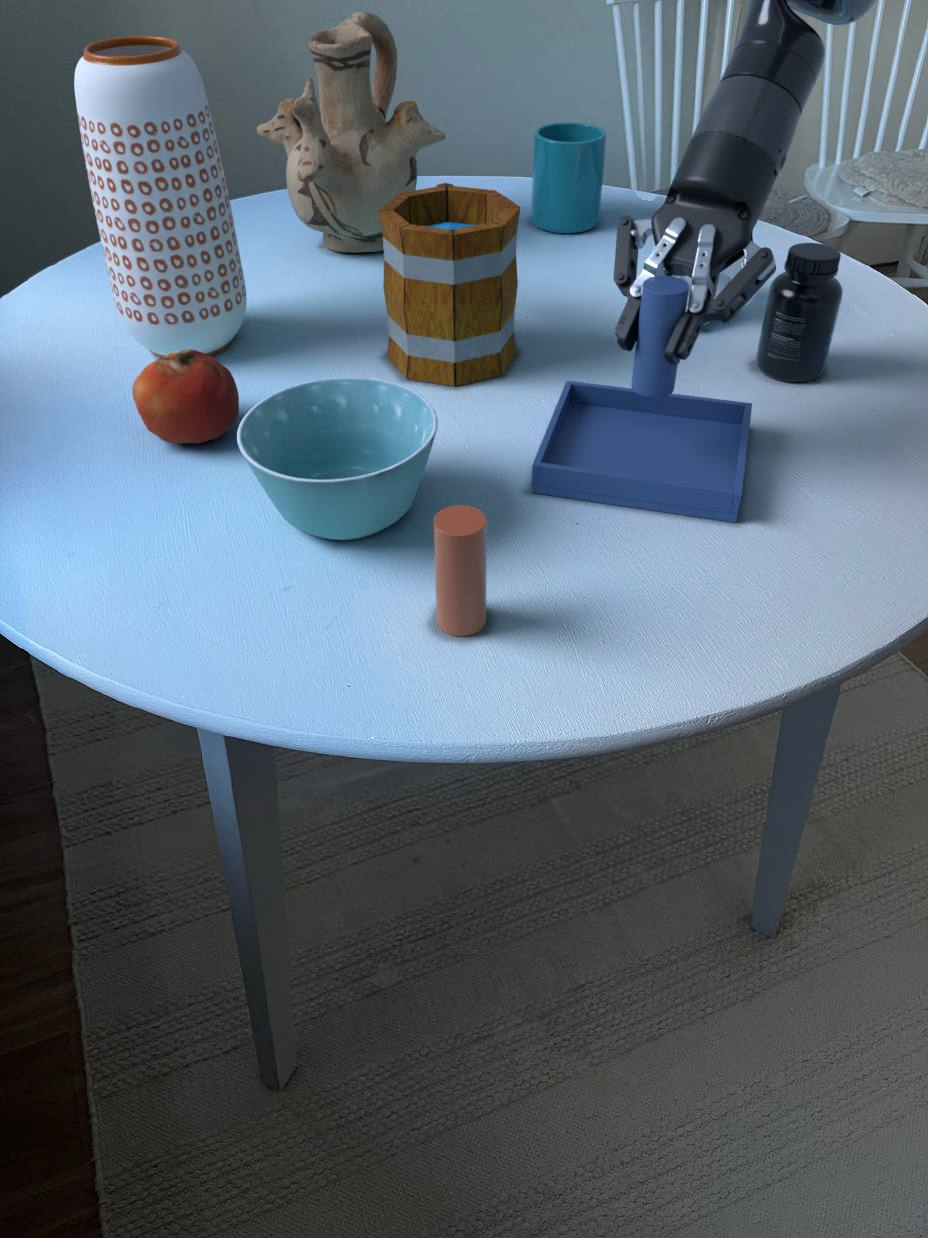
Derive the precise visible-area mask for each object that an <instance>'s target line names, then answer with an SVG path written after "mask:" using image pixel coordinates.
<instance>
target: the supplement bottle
mask: <svg viewBox="0 0 928 1238" xmlns="http://www.w3.org/2000/svg"><path fill="white" fill-rule="evenodd" d="M841 254H842V253H841V251H840V250H839V249H837V248H835V247H833V246H831V245H827V244H824V243H819V242H801V243H796V244H793V245H791V246H790V247H789V248H788V251H787V256H786V260H785V262H784V266H783V269H784V271H783V272H781V273H780V274H778V275H777V276H776V277H775V278H774V279H773V281H772V282H771V284H770V286H769V290H768V296H767V302H766V306H765V310H764V316H763V321H762V325H761V331H760V336H759V341H758V346H757V351H756V358H755V364H756V367H757V369H758V370H759V371H761V373H762V374H764V375H766V376H767V377H770V378H772V379H775V380H778V381H783V382H787V383H788V382H790V383H804V382H809V381H812V380H814V379H816V378H818V377H820V375H822V374H823V372H824V370H825V367H826V363H827V360H828V355H829V351H830V348H831V344H832V340H833V336H834V331H835V327H836V323H837V320H838V317H839V316H838V315H839V312H840V307H841V304H842V299H843V292H844V291H843V287H842V284H841V283H840V281H839V280H838V279H837V277H836V276H837V275H838V272H839V269H840V268H839V265H840V261H841V257H842V255H841Z"/></svg>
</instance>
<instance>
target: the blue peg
mask: <svg viewBox="0 0 928 1238" xmlns="http://www.w3.org/2000/svg"><path fill="white" fill-rule="evenodd" d="M688 291H689V285H688V283H687V282H686V281H684V280H682V279H680V278H677V277H672V276H654V277H650V278H648V279H646V280H645V281H644V282H643V287H642V296H641V305H640V313H639V322H638V331H637V340H636V343H635V351H634V357H633V368H632V376H631V384H630V387H631V389H633V391H634V392H635V393H637V394H639V395H641V396H644V397H650V398H661V397H665V396H668V395H670V394H671V393H672V394H673V392H674V391H675V388H676V387H675V386H676V379H677V373H678V366H679V364H678V365H673V364H670V363H668V362H667V360H666V358H665V357H664V353H665V350H666V347H667V345H668V343H669V340H670V338H671V336H672V334H673V331H674V329H675V327H676V325H677V322H678V320H679V318H680V316H681V313H682V312H686V305H687V298H688Z"/></svg>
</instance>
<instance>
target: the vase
mask: <svg viewBox="0 0 928 1238" xmlns="http://www.w3.org/2000/svg"><path fill="white" fill-rule="evenodd" d="M73 78H74V79H73V80H74V81H73V83H74V85H73V86H74V97H75V105H76V112H77V118H78V126H79V132H80V139H81V145H82V146H81V147H82V152H83V155H84V157H83V158H84V161H85V168H86V173H87V179H88V184H89V189H90V194H91V201H92V205H93V210H94V214H95V219H96V220H95V221H96V224H97V228H98V233H99V238H100V243H101V246H102V253H103V256H104V261H105V266H106V270H107V275H108V279H109V284H110V288H111V294H112V298H113V301H114V306H115V309H116V311H117V315H118V317H119V319H120V321H121V323H122V325H123V327H124V328H125V330H126V331H127V332H128V334H129V335H130V336H131V337H132V338H133V340H135V341H136V342H137V343H138V344H140V345H141V346H142V347H144V348H145V349H146V350H149V352H150V353H151V354H153V355H154V356H156V357H158V358H159V359H161V358H164V357H166V356H167V355H168V354H170V353H179V352H181V351H182V350H190V349H191V350H196V351H199V352H202V353H205V354H207V355H209V356H211V357H213V356H214V355H216V354H219V353H221V352H222V351H224V350H226V348H228V346H229V345H230V344H231V342H232V340H233V338H234V337H235V336H236V335H237V333H238V331H239V330H240V329H241V327H242V324H243V322H244V319H245V315H246V312H247V304H248V303H247V287H246V281H245V275H244V270H243V264H242V259H241V253H240V247H239V243H238V237H237V232H236V226H235V221H234V215H233V210H232V205H231V200H230V195H229V190H228V185H227V181H226V175H225V171H224V166H223V160H222V157H221V152H220V147H219V143H218V138H217V134H216V133H217V132H216V129H215V124H214V122H213V118H212V114H211V109H210V105H209V102H208V98H207V94H206V89H205V85H204V83H203V79H202V77H201V74H200V71H199V69H198V67H197V65H196V63H195V62H194V60H193V58H192V57H191V56H190V55H189V54H188V52H186V51H185V50H184V49H182V48H181V47H180V45H179V42H177V40H175V39H172V38H170V37H169V38H168V37H164V36H163V37H162V36H156V35H155V36H154V35H129V36H120V37H119V36H118V37H112V38H106V39H102V40H101V39H100V40H98V41H94V42H92V43H89V44H88V45H86V46H85V47H84V49H83V55H82V56H81V57H80V58H79V60H78V62H77V64H76V67H75V70H74V77H73Z"/></svg>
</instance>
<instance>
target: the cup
mask: <svg viewBox="0 0 928 1238" xmlns="http://www.w3.org/2000/svg"><path fill="white" fill-rule="evenodd" d="M606 146H607V132H606V130H604V129H603V128H602V127H600V126H597V125H594V124H590V123H585V122H573V121H571V122H570V121H564V122H553V123H548V124H543V125H541V126H539V127H537V128H536V129H535V130H534V133H533V154H532V155H533V156H532V181H531V182H532V184H531V206H530V207H531V208H530V209H531V210H530V211H531V212H530V218H531V221H532V223H533V224H534V225H535V226H536V227H537V228H539V229H541V230H542V231H545V232H549V233H550V232H551V233H556V234H578V233H583V232H587V231H589V230H592V229H593V228H595V227H596V226H597V225H598V223H599V222H600V217H601V206H602V194H603V183H604V171H605V170H604V169H605V157H606Z"/></svg>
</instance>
